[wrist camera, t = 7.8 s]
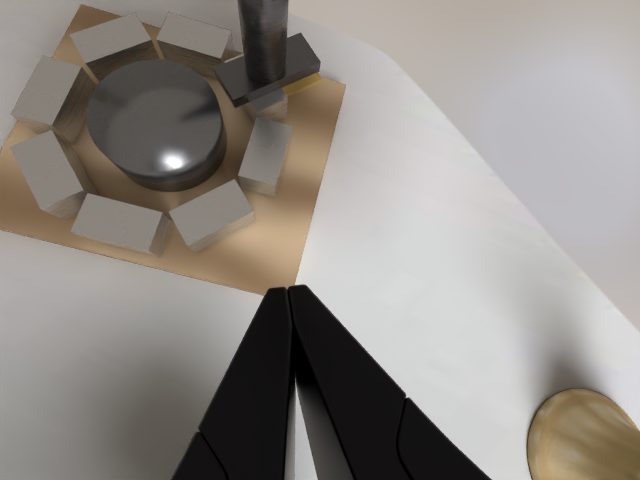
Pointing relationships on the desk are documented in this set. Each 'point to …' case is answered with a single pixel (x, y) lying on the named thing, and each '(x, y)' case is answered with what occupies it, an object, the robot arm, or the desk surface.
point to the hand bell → (583, 439)
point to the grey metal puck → (158, 125)
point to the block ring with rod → (202, 57)
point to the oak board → (230, 252)
